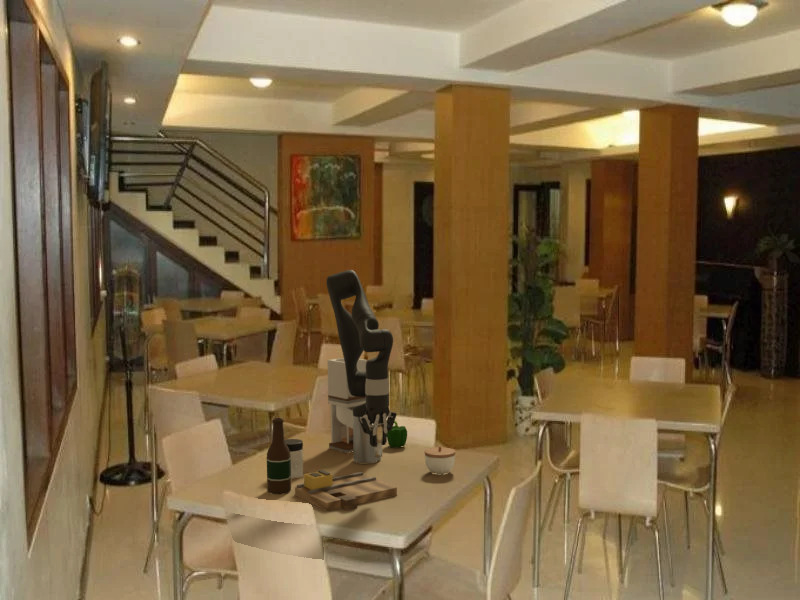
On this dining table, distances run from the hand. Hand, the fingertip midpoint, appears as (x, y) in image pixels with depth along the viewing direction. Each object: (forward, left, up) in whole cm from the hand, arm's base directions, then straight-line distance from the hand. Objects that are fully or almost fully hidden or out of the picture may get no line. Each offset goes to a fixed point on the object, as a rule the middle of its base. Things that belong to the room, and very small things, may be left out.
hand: (378, 445), depth 271 cm
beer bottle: (+23, -24, -17) cm, 37 cm away
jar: (+11, -38, -17) cm, 43 cm away
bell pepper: (-41, -48, -17) cm, 66 cm away
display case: (-25, -58, -17) cm, 65 cm away
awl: (0, 0, -4) cm, 4 cm away
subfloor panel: (+8, -7, -16) cm, 19 cm away
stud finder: (+15, -12, -14) cm, 24 cm away
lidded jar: (-32, -9, -17) cm, 37 cm away
